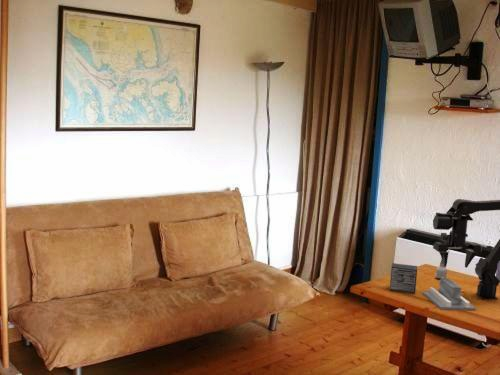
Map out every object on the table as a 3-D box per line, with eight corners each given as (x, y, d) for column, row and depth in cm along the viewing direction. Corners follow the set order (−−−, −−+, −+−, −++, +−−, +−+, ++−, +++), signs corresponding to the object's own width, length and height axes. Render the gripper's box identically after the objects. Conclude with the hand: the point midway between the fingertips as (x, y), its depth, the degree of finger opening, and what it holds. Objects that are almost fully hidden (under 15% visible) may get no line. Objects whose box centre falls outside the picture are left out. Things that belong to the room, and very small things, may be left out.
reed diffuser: (432, 275, 280) (436, 233, 277) (447, 276, 280) (451, 234, 278) (439, 282, 270) (443, 238, 267) (454, 283, 270) (459, 239, 267)
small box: (415, 289, 258) (418, 265, 256) (415, 294, 252) (417, 269, 250) (389, 286, 261) (392, 262, 259) (389, 290, 254) (391, 266, 253)
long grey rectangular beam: (446, 294, 250) (448, 278, 249) (459, 304, 238) (461, 287, 237) (438, 294, 249) (440, 278, 248) (450, 304, 238) (452, 287, 237)
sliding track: (455, 295, 253) (456, 288, 253) (475, 310, 236) (476, 302, 235) (422, 294, 252) (423, 287, 251) (440, 309, 234) (441, 301, 234)
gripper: (470, 226, 258) (467, 262, 261) (429, 225, 256) (425, 261, 258) (484, 232, 247) (480, 269, 250) (440, 231, 245) (437, 269, 247)
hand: (455, 267), depth 251 cm, fingers open, 9 cm apart
